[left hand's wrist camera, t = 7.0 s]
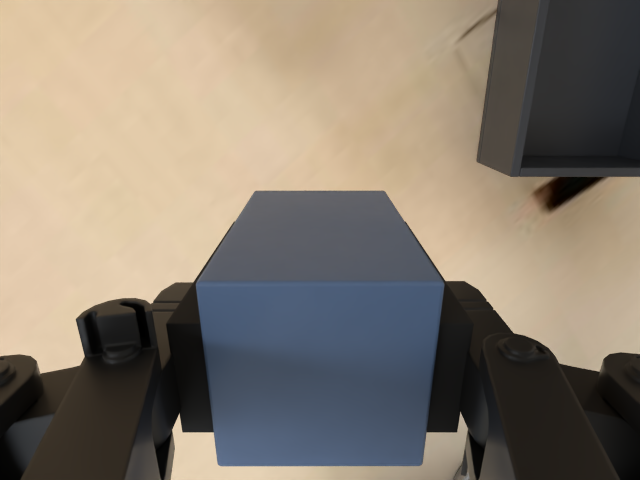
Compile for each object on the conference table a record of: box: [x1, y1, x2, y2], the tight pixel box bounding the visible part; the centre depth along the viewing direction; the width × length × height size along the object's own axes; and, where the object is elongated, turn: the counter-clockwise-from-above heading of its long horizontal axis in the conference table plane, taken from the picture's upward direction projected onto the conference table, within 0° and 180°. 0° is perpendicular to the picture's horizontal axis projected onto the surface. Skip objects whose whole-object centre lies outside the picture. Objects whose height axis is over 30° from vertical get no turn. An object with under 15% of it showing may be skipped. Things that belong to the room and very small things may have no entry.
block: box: [196, 191, 444, 466], centre depth 11 cm, size 4×4×7 cm
